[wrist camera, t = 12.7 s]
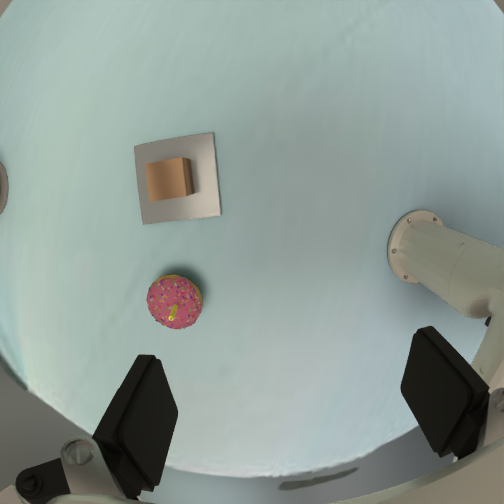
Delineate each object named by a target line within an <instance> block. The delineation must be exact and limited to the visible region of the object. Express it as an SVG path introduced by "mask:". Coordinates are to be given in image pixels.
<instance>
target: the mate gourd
mask: <svg viewBox="0 0 504 504" xmlns="http://www.w3.org/2000/svg"><path fill="white" fill-rule="evenodd" d="M7 198H8V177H7V173H6V170H5V168H4V166H3V164H2V163H1V162H0V214H1V213H2V212H3V210H4V208H5V206H6V203H7Z"/></svg>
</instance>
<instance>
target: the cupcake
mask: <svg viewBox="0 0 504 504" xmlns="http://www.w3.org/2000/svg"><path fill="white" fill-rule="evenodd" d="M147 303H148V309H149V310H150V313H151V314H152V316H153V317H154V318H155V319H156V320H157V321H158V322H160V323H161V324H162V325H163V326H166V327H169V328H172V329H181V328H184V329H185V327H188V326H192V324H194V323H195V322H196V320H197V318H198V316H199V315H200V313H201V310H202V304H203V301H202V296H201V294H200V291H199V289H198V287H197V286H195V285H194V284H193V283H192V282H191V281H190V280H189V279H187V278H185V277H181V276H178V275H175V274H171V275H164V276H161V277H160V278H158V279H157V280H156V281H155V282H154V283H153V284H152V285H151V286H150V289H149V291H148V294H147Z"/></svg>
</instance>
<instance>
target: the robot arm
mask: <svg viewBox="0 0 504 504" xmlns="http://www.w3.org/2000/svg"><path fill="white" fill-rule="evenodd" d="M407 219H408V220H407ZM392 249H393V250H392ZM388 260H389V264H390V267H391V269H392V271H393V272H394V273H395V275H396V276H398V277H399V278H400V279H401V280H403V281H405V282H408V283H420V282H421V283H422V284H423V285H425V286H426V287H427V288H429V289H430V290H431V291H432V292H434V293H435V294H436V295H438V296H439V297H440V298H441V299H443V300H444V301H445V302H446V303H448V304H449V305H450V306H451V307H453V308H454V309H455V310H457V311H458V312H459V313H460V314H462V315H463V316H465V317H468V318H472V319H481V318H486V317H489V316H492V317H491V321H490V323H489V326H488V328H487V332H486V334H485V336H484V339H483V341H482V343H481V345H480V347H479V349H478V351H477V353H476V355H475V357H474V359H473V361H472V363H471V365H469V363H468V362H467V361H466V360H465V359H464V358H463V357H462V356H461V355H460V354H459V353H458V352H457V351H456V350H455V349H454V347H453V346H452V345H451V344H450V343H449V342H448V341H447V340H446V339H445V338H444V337H443V336H442V335H441V334H440V333H439V332H438V331H437V330H436V329H435V328H434V327H433V326H428V327H424V328H420V329H418V330H417V332H416V333H415V334H414V335H413V339H412V343H411V348H410V352H409V356H408V360H407V364H406V368H405V372H404V375H403V379H402V382H401V393H402V395H403V397H404V399H405V400H406V402H407V404H408V406H409V407H410V409H411V411H412V413H413V414H414V416H415V418H416V420H417V422H418V424H419V425H420V427H421V429H422V431H423V433H424V435H425V436H426V438H427V440H428V442H429V444H430V446H431V448H432V449H433V451H434V452H436V453H438V455H439V457H440V458H441V457H444V456H445V455H448V454H450V453H451V452H453V453H454V455H455V456H454V460H453V463H452V464H450V465H447V466H445V467H443V468H441V469H439V470H436V471H434V472H432V473H429V474H427V475H425V476H422V477H420V478H417V479H415V480H412V481H409V482H407V483H404V484H401V485H398V486H395V487H392V488H389V489H386V490H382V491H379V492H375V493H372V494H368V495H365V496H361V497H357V498H353V499H348V500H343V501H339V502H334V503H328V504H504V250H503V249H501V248H498V247H495V246H493V245H491V244H488V243H486V242H483V241H481V240H478V239H476V238H473V237H471V236H468V235H465V234H463V233H460V232H458V231H455V230H452V229H449V228H447V227H445V226H444V224H443V222H442V221H441V219H440V218H439V217H438V216H437V215H435V214H434V213H432V212H429V211H425V210H416V211H412V212H410V213H408V214H406V215H405V216H404V217H403V218H401V219H400V220H399V222H398V223H397V224H396V226H395V227H394V229H393V231H392V233H391V236H390V239H389V243H388ZM177 418H178V409H177V406H176V403H175V401H174V398H173V395H172V393H171V390H170V387H169V384H168V381H167V378H166V375H165V372H164V369H163V366H162V363H161V361H160V359H156V357H155V356H154V355H138V356H137V358H136V360H135V361H134V363H133V365H132V367H131V368H130V370H129V372H128V374H127V375H126V377H125V379H124V381H123V383H122V384H121V386H120V388H119V389H118V390H117V392H116V394H115V395H114V397H113V399H112V401H111V403H110V404H109V406H108V408H107V410H106V412H105V414H104V415H103V417H102V419H101V421H100V423H99V425H98V427H97V429H96V430H95V432H94V434H93V436H92V438H89V437H87V436H76V437H73V438H71V439H69V440H68V441H66V443H64V445H63V446H62V448H61V451H60V458H58V459H55V460H52V461H49V462H46V463H43V464H41V465H37V466H34V467H31V468H28V469H25V470H23V471H22V472H21V473H19V475H18V477H17V478H16V487H13V486H12V485H10V486H9V487H7V488H6V489H4V490H3V491H1V492H0V504H153V503H148V502H143V501H142V500H141V499H140V497H139V495H140V494H141V490H145V491H151V492H153V490H154V487H155V486H158V485H159V483H160V480H161V476H162V472H163V469H164V465H165V461H166V458H167V454H168V450H169V447H170V443H171V439H172V436H173V432H174V428H175V425H176V421H177Z"/></svg>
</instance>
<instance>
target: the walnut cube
mask: <svg viewBox="0 0 504 504" xmlns="http://www.w3.org/2000/svg"><path fill="white" fill-rule="evenodd" d="M145 168H146V177H147V185H148V192H149V199H150V202H153V201H159V200H165V199H172V198H179V197H185V196H189V195H192V194H195V192H194V184H193V176H192V167H191V159H188V158H183V157H180V158H174V159H168V160H163V161H158V162H153V163H148V164H145Z"/></svg>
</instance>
